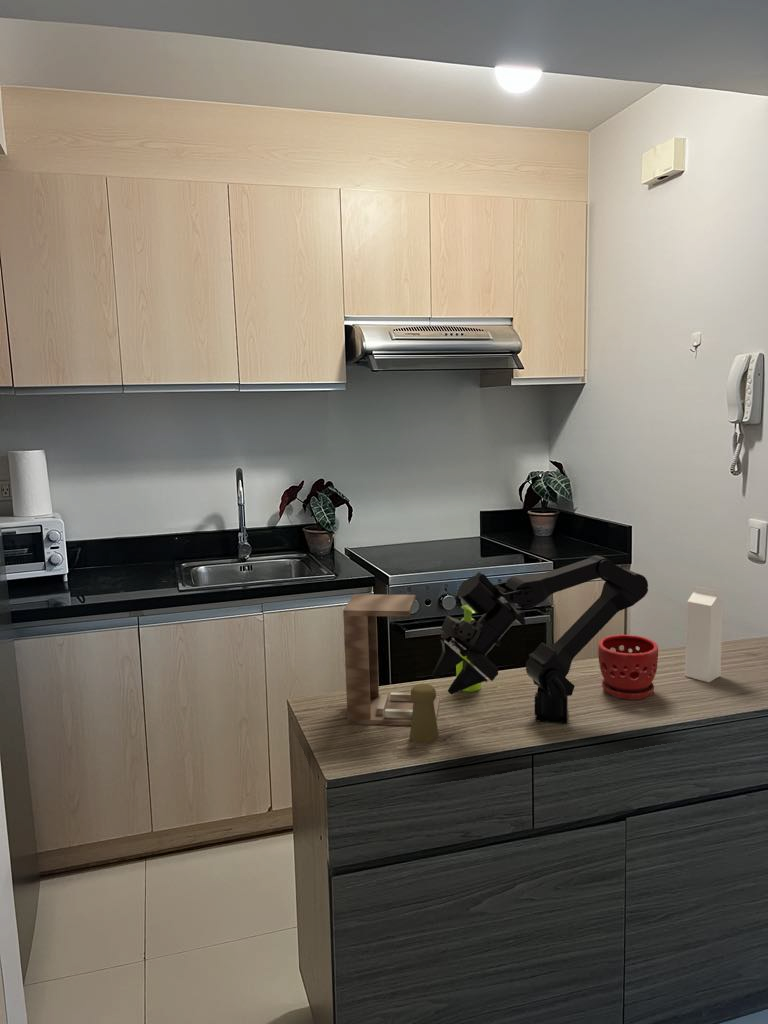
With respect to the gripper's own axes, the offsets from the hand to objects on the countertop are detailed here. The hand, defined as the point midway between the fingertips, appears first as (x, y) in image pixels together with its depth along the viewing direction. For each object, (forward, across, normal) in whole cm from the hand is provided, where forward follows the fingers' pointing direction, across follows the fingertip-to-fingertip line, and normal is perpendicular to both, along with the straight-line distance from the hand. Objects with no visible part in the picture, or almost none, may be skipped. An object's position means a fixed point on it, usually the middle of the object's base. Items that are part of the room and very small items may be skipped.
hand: (441, 684), depth 155 cm
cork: (+10, 0, +5) cm, 12 cm away
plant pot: (-26, -6, +41) cm, 49 cm away
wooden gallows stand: (+12, -14, +3) cm, 18 cm away
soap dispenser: (-3, -21, +18) cm, 28 cm away
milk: (-42, -9, +57) cm, 72 cm away
